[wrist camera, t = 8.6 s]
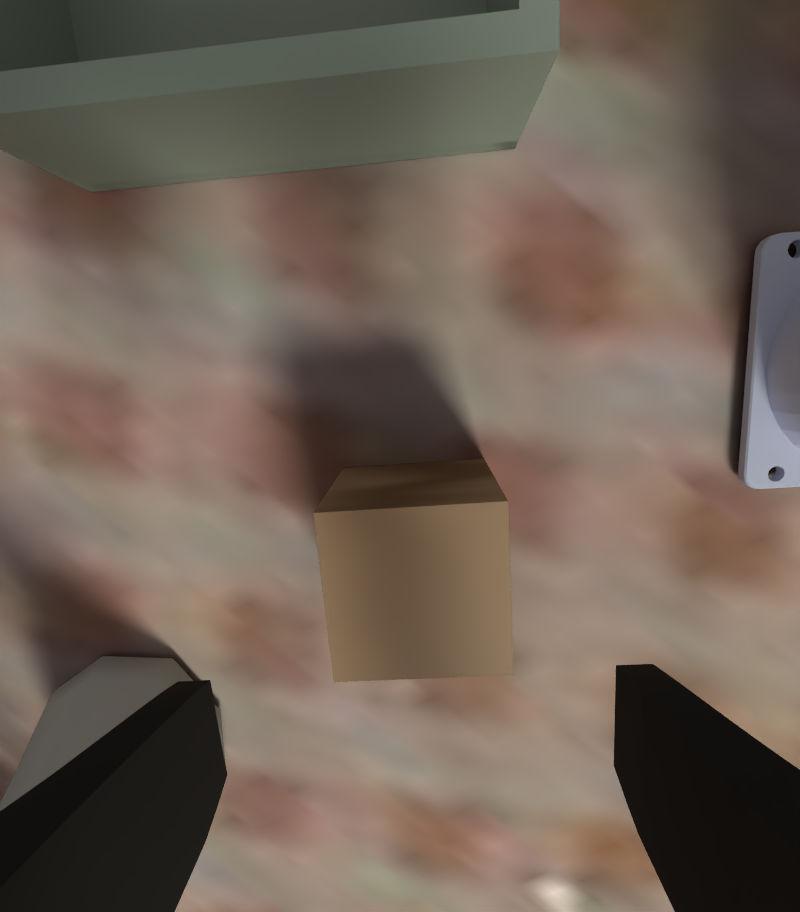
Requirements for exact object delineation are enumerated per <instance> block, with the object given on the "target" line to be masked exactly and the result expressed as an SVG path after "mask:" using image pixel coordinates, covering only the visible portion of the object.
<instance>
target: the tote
mask: <svg viewBox="0 0 800 912" xmlns="http://www.w3.org/2000/svg"><path fill="white" fill-rule="evenodd" d="M559 50H560V27H559V0H0V149H1V150H3V151H5V152H7V153H9V154H11V155H13V156H16V157H18V158H20V159H22V160H24V161H26V162H28V163H30V164H32V165H35V166H37V167H39V168H41V169H43V170H45V171H47V172H49V173H51V174H54V175H56V176H58V177H60V178H62V179H64V180H66V181H68V182H70V183H73V184H75V185H77V186H79V187H81V188H83V189H85V190H87V191H89V192H98V191H108V190H117V189H127V188H137V187H147V186H156V185H166V184H176V183H186V182H195V181H205V180H215V179H225V178H234V177H244V176H254V175H264V174H273V173H283V172H293V171H303V170H312V169H322V168H332V167H342V166H351V165H361V164H371V163H381V162H390V161H400V160H410V159H420V158H429V157H439V156H449V155H459V154H468V153H478V152H488V151H498V150H507V149H515V147H516V144H517V142H518V140H519V138H520V136H521V133H522V131H523V129H524V127H525V125H526V123H527V120H528V118H529V116H530V114H531V112H532V109H533V107H534V105H535V103H536V101H537V98H538V96H539V94H540V92H541V90H542V87H543V85H544V83H545V81H546V79H547V76H548V74H549V72H550V70H551V68H552V65H553V63H554V61H555V59H556V57H557V54H558V52H559Z"/></svg>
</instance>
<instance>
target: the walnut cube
mask: <svg viewBox="0 0 800 912" xmlns="http://www.w3.org/2000/svg"><path fill="white" fill-rule="evenodd" d="M313 516H314V524H315V532H316V540H317V548H318V556H319V565H320V573H321V581H322V589H323V597H324V605H325V613H326V622H327V630H328V638H329V646H330V654H331V662H332V670H333V678H334V682H346V681H371V680H397V679H423V678H449V677H474V676H500V675H514V668H513V638H512V607H511V577H510V546H509V516H508V500H507V498H506V497H505V495H504V493H503V491H502V490H501V488H500V486H499V484H498V483H497V481H496V479H495V477H494V476H493V474H492V472H491V470H490V468H489V467H488V465H487V463H486V461H485V460H484V458H483V459H467V460H452V461H437V462H422V463H407V464H392V465H377V466H362V467H346V468H343V469H342V471H341V472H340V474H339V475H338V477H337V478H336V480H335V481H334V483H333V484H332V486H331V487H330V489H329V490H328V492H327V493H326V495H325V496H324V498H323V499H322V501H321V502H320V504H319V505H318V507H317V508H316V510H315V511H314V513H313Z"/></svg>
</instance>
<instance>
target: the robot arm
mask: <svg viewBox="0 0 800 912" xmlns="http://www.w3.org/2000/svg"><path fill="white" fill-rule="evenodd" d="M791 243H793V244H794V245H795V246H796V254H795V256H794V257H793V258H792V257H791V256H790V255H789V254H788V247H789V245H790V244H791ZM773 467H776V472H775V475H774V476H772V477H771V478H768V473H769V470H770V469H771V468H773ZM738 476H739V479H740V481H741V482H742V483H743V484H744V485H746V486H748V487H751V488H755V489H766V488H783V487H800V231H797V232H786V233H778V234H775V235H772V236H769V237H766V238H765V239H763V240H762V241H761V242H760V243H759V244H758V246H757V247H756V251H755V256H754V269H753V283H752V296H751V309H750V323H749V336H748V349H747V362H746V376H745V389H744V402H743V416H742V429H741V442H740V455H739V469H738ZM614 767H615V770H616V773H617V776H618V779H619V782H620V784H621V787H622V790H623V793H624V796H625V799H626V802H627V804H628V807H629V810H630V813H631V815H632V818H633V821H634V823H635V826H636V829H637V832H638V834H639V836H640V838H641V841H642V843H643V845H644V847H645V849H646V851H647V854H648V856H649V858H650V860H651V862H652V864H653V866H654V868H655V871H656V873H657V875H658V877H659V879H660V881H661V883H662V885H663V888H664V890H665V892H666V894H667V896H668V898H669V900H670V902H671V904H672V907H673V909H674V911H675V912H800V770H799V769H798V768H796V767H795V766H793V765H792V764H790V763H789V762H788V761H786V760H785V759H783V758H782V757H780V756H779V755H778V754H776V753H775V752H773V751H772V750H771V749H769V748H768V747H766V746H765V745H764V744H762V743H761V742H759V741H758V740H757V739H755V738H754V737H752V736H751V735H750V734H748V733H747V732H745V731H744V730H743V729H741V728H740V727H739V726H737V725H736V724H734V723H733V722H732V721H730V720H729V719H728V718H726V717H725V716H723V715H722V714H721V713H719V712H718V711H717V710H715V709H714V708H713V707H711V706H710V705H709V704H707V703H706V702H704V701H703V700H702V699H700V698H699V697H698V696H696V695H695V694H694V693H692V692H691V691H690V690H688V689H687V688H685V687H684V686H683V685H681V684H680V683H679V682H677V681H676V680H675V679H673V678H672V677H670V676H669V675H668V674H666V673H665V672H663V671H662V670H661V669H659V668H658V667H656V666H655V665H653V664H642V665H616V693H615V739H614ZM226 777H227V770H226V765H225V759H224V754H223V748H222V743H221V737H220V732H219V726H218V721H217V715H216V710H215V704H214V699H213V693H212V688H211V682H210V680H203V681H178V682H176V683H175V684H173V685H172V686H170V687H169V688H167V689H166V690H164V691H163V692H161V693H160V694H159V695H157V696H156V697H154V698H153V699H152V700H150V701H149V702H148V703H146V704H145V705H144V706H142V707H141V708H140V709H138V710H137V711H136V712H134V713H133V714H132V715H130V716H129V717H128V718H126V719H125V720H124V721H122V722H121V723H120V724H118V725H117V726H116V727H115V728H113V729H112V730H111V731H109V732H108V733H107V734H105V735H104V736H103V737H101V738H100V739H99V740H97V741H96V742H95V743H93V744H92V745H91V746H89V747H88V748H87V749H85V750H84V751H83V752H81V753H80V754H79V755H77V756H76V757H75V758H73V759H72V760H71V761H69V762H68V763H67V764H65V765H64V766H63V767H61V768H60V769H59V770H57V771H56V772H55V773H53V774H52V775H50V776H49V777H48V778H46V779H45V780H43V781H42V782H41V783H39V784H38V785H36V786H35V787H34V788H32V789H31V790H29V791H28V792H27V793H25V794H24V795H22V796H21V797H19V798H18V799H17V800H15V801H14V802H12V803H11V804H10V805H8V806H7V807H5V808H4V809H3V810H1V811H0V912H174V911H175V909H176V907H177V905H178V902H179V900H180V898H181V896H182V894H183V891H184V889H185V887H186V885H187V882H188V880H189V878H190V875H191V873H192V871H193V869H194V866H195V864H196V862H197V860H198V857H199V855H200V853H201V850H202V848H203V846H204V844H205V841H206V839H207V836H208V833H209V830H210V827H211V824H212V821H213V818H214V815H215V812H216V809H217V806H218V803H219V800H220V796H221V793H222V790H223V787H224V784H225V780H226Z"/></svg>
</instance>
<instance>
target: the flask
mask: <svg viewBox="0 0 800 912" xmlns="http://www.w3.org/2000/svg"><path fill="white" fill-rule="evenodd" d="M178 681H193V680H192V679H191V678H190V677H189V676H188V674H187V673H186V672H185V671H184V670H183V669H182V668H181V667H180V666H179V665H178V664H177V663H176V661H175V660H174V659H173V658H146V657H116V656H102V657H100V658H99V659H97V660H96V661H95V662H93V663H92V664H91V665H89V666H88V667H86V668H85V669H84V670H82V671H81V672H80V673H78V674H77V675H75V676H74V677H73V678H71V679H70V680H68V681H67V682H66V683H64V684H63V685H62V686H60V687H59V688H57V689H56V690H55V691H53V693H52V695H51V697H50V699H49V701H48V703H47V705H46V707H45V709H44V711H43V713H42V715H41V717H40V720H39V722H38V724H37V726H36V728H35V731H34V733H33V735H32V737H31V739H30V741H29V744H28V746H27V748H26V750H25V752H24V755H23V757H22V759H21V761H20V763H19V766H18V768H17V770H16V772H15V774H14V776H13V778H12V780H11V782H10V784H9V786H8V788H7V790H6V792H5V794H4V796H3V798H2V800H1V802H0V811H1V810H3V809H4V808H5V807H7V806H8V805H10V804H11V803H12V802H14V801H15V800H17V799H18V798H19V797H21V796H22V795H24V794H25V793H27V792H28V791H29V790H31V789H32V788H34V787H35V786H36V785H38V784H39V783H41V782H42V781H43V780H45V779H46V778H48V777H49V776H50V775H52V774H53V773H55V772H56V771H57V770H59V769H60V768H61V767H63V766H64V765H65V764H67V763H68V762H69V761H71V760H72V759H73V758H75V757H76V756H77V755H79V754H80V753H81V752H83V751H84V750H85V749H87V748H88V747H89V746H91V745H92V744H93V743H95V742H96V741H97V740H99V739H100V738H101V737H103V736H104V735H105V734H107V733H108V732H109V731H111V730H112V729H113V728H115V727H116V726H117V725H118V724H120V723H121V722H122V721H124V720H125V719H126V718H128V717H129V716H130V715H132V714H133V713H134V712H136V711H137V710H138V709H140V708H141V707H142V706H144V705H145V704H146V703H148V702H149V701H150V700H152V699H153V698H154V697H156V696H157V695H159V694H160V693H161V692H163V691H164V690H166V689H167V688H169V687H170V686H172V685H173V684H175V683H176V682H178ZM215 710H216V715H217V721H218V726H219V732H220V737H221V743H222V748H223V737H222V726H221V715H220V709H219V708H218V707H217V706H216V705H215ZM223 754H224V748H223Z"/></svg>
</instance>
